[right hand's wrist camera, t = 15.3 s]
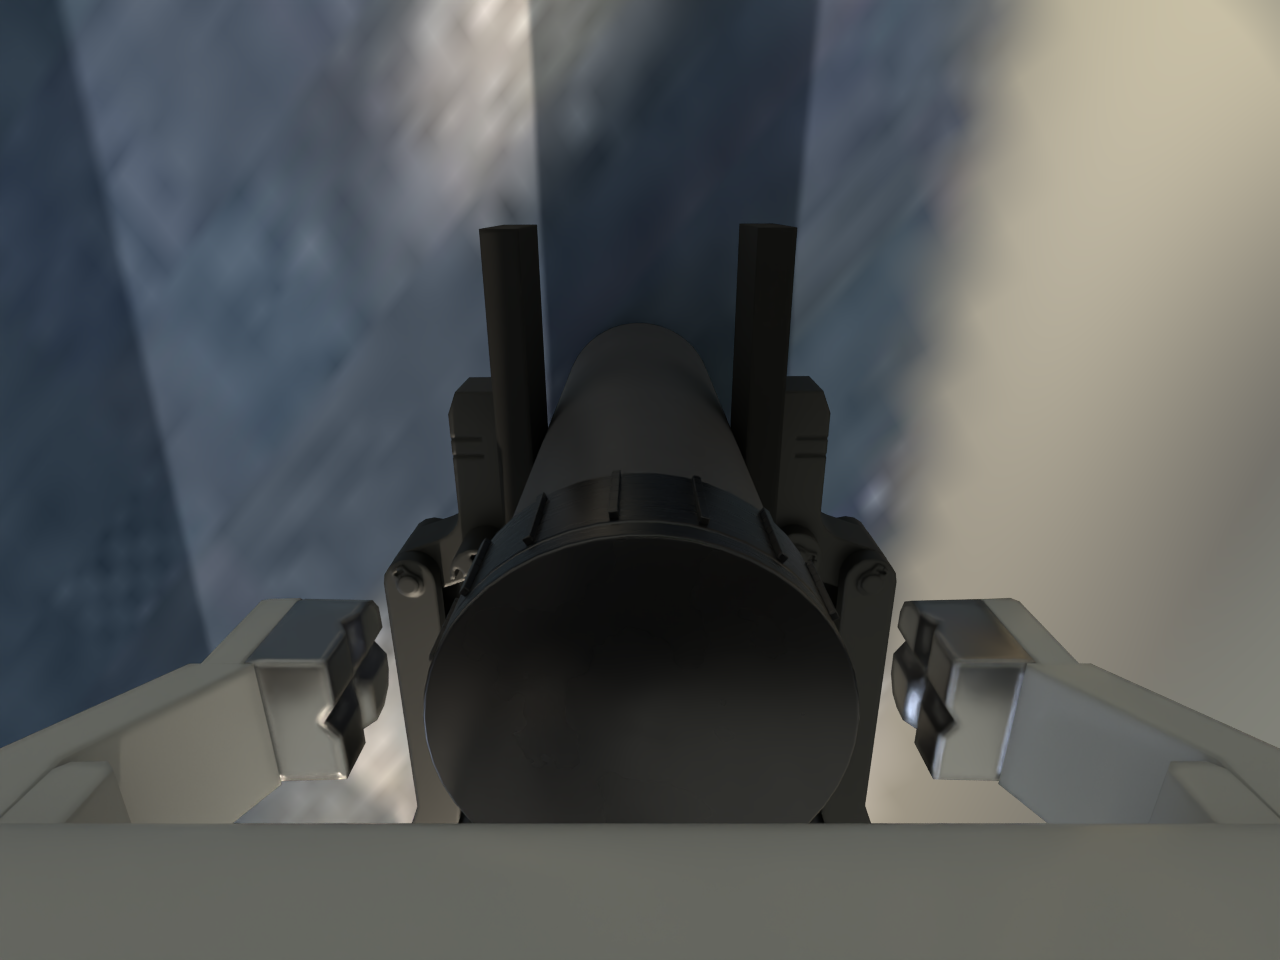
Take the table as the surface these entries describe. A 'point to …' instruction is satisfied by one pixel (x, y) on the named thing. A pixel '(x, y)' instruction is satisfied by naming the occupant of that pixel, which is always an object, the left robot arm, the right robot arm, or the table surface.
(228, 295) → the table surface
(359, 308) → the table surface
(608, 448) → the dark gray cylinder
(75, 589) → the table surface
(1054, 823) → the right robot arm
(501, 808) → the lid
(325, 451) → the table surface
